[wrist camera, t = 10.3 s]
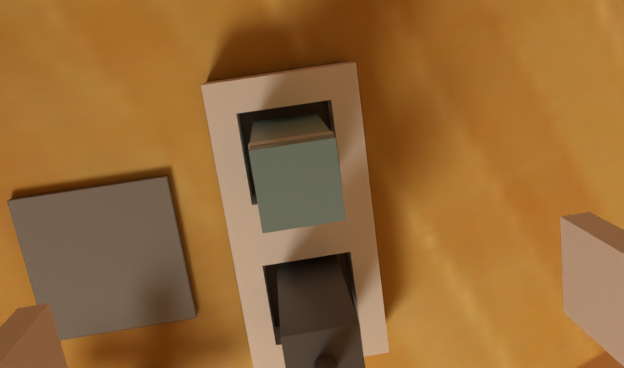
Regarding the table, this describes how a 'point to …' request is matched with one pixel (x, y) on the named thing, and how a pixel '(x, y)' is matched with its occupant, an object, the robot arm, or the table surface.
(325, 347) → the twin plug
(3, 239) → the table surface
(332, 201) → the plug
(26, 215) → the pad
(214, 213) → the table surface
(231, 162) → the power strip
